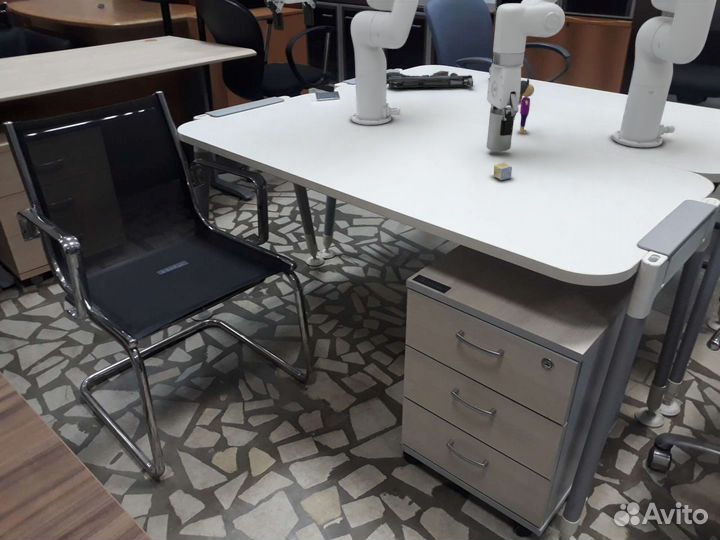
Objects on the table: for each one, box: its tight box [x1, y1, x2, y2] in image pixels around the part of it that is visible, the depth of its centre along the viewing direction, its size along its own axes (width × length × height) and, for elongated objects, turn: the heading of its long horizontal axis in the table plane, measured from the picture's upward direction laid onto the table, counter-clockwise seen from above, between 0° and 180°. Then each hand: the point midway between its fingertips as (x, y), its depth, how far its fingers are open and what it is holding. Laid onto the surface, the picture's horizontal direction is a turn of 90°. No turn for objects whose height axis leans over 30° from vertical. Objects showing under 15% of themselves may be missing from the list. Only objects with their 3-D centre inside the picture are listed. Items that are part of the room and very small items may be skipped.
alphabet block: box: [493, 162, 513, 181], centre depth 136 cm, size 3×3×3 cm
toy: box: [519, 78, 535, 134], centre depth 162 cm, size 10×6×15 cm, turn 168°
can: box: [486, 109, 513, 152], centre depth 149 cm, size 6×6×10 cm
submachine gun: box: [386, 70, 474, 89], centre depth 219 cm, size 33×4×25 cm
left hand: (294, 27), depth 143 cm, fingers open, 9 cm apart
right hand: (500, 130), depth 149 cm, fingers closed on can, 6 cm apart
